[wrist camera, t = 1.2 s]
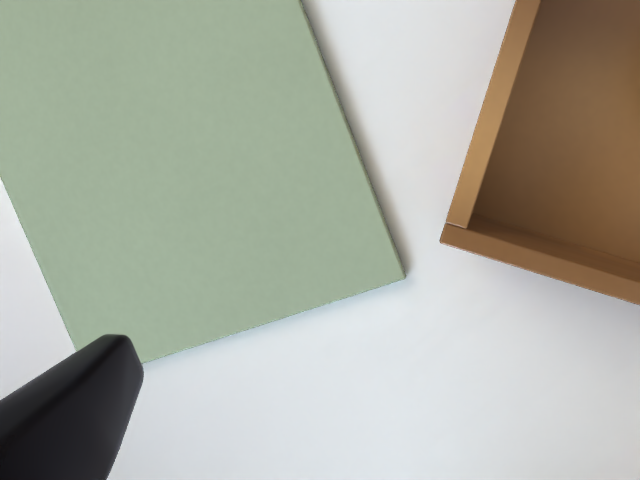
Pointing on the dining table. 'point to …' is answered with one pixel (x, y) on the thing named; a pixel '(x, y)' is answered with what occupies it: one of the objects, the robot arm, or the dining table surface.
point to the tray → (559, 149)
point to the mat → (183, 167)
